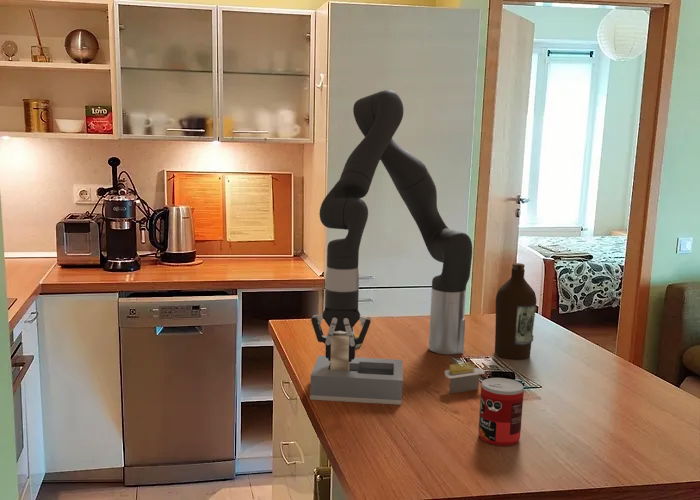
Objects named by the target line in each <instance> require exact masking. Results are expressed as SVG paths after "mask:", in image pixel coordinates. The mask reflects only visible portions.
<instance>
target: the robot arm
mask: <svg viewBox="0 0 700 500" xmlns="http://www.w3.org/2000/svg"><path fill="white" fill-rule="evenodd" d="M352 110H353V111H352V113H353V117H354V120H355V123H356V125H357V127H358V129H359V130H360V132H361V133H362V135H363V136H364V138H362V140H361V141H360V142H359V143H358V145H357V146H355V148H354V149H353V150H352V152H351V153H350V155H348V157H347V160H346V162H345V164H344V167H343V169H342V172H341V175H340V177H339V179H338V181H337V182H336V183H335V184H334V186H333V187H332V188H331V190H330V191H329V192H328V193H327V195H326V196H325V197H324V198H323V200H322V202H321V204H320V208H319V213H318V214H319V219H320V222H321V224H322V225H323V227H325V228H328V229H332V230H333V229H335V230H346V231H347V235H346V236H345V238H337V239H332V240H331V241H329V242H328V244H327V249H326V254H327V255H326V272H325V276H324V277H325V281H324V310H323V311H322V313H321V314H313V315H312V317H311V318H310V321H311V325H312V328H313V331H314V333H315V336H316V340H317V342H318V343H323V344H324V345H325V355H324V356H326V358H328V361H331V335H333V334H334V331H343V332H346V333H347V336H349V344H350V345H349V362H352V359H353V360H354V358H355V357H356V349H355V346H356V345H357V344H362V345H363V343H364V341H365V338H366V336H367V333H368V331H369V327H370V325H371V322H372V319H371V318H372V317H370V316H367V317H365V316H363V315H361V313H360V311H359V295H360V294H359V290H360V274H359V253H360V246H361V241H362V238H363V234H364V230H365V228H366V225H367V221H368V218H369V209H368V206H367V203H366V202H365V200H363V198H364V197H366V196H367V194H368V193H369V190H370V187H371V185H372V182H373V179H374V176H375V173H376V170H377V167H378V165H379V163H380V161H381V163H382V165H383V167H384V168H385V169H386V171H387V173H388V176H389V177H390V179H391V181H392V183H393V184H394V187H395V188H396V190H397V192H398V194H399V196H400V198H401V199H402V201H403V202H404V204H405V206H406V208H407V210H408V211H409V213H410V215H411V217H412V219H413V220H414V222H415V224H416V226H417V228H418V230H419V232H420V235H421V237H422V239H423V243H424V244H425V246H426V249H427V251H428V253H429V255H430V256H431V257H432V259H434V260H436V262H439V263H442V269H441V274H439V275H435V276H433V277H432V281H431V293H430V295H431V296H430V297H431V298H430V314H429V315H430V317H429V336H428V338H429V339H428V350H430V352H433V353H436V354H440V355H457V354H464V349H465V347H464V346H465V332H466V331H465V330H466V318H465V313H466V296H467V295H466V294H467V284H468V282H469V280H470V276H471V268H472V260H473V243H472V239H471V237H470V236H469V235H468V234H467V233H465V232H463V231H459V230H454V229H450V228H449V227H448V225H446V222H444V220H443V218H442V216H441V214H440V212H439V210H438V196H437V195H438V194H437V186H436V184H435V182H434V179H433V177H432V176H431V174H430V172H429V169H428V168H427V167H426V165H425V163H423V161H422V160H420V159H419V158H418V157H416V156H415V155H414V154H412V153H410V152H409V151H408V150H406V149H405V148H403V147H402V146H400V145H399V144H398V143H397V142H396V141H395V140H394V139H393V137H394V135H395V134H396V132H397V130H398V128H399V127H400V125H401V123H402V121H403V117H404V104H403V101H402V98H401V97H400V95H399V94H398V93H397V92H396V91H394V90H391V89H386V90H380V91H377V92H374V93H373V94H369V95H367V96H364V97H361V98H359V99H357V100H356V101H355V102H354V104H353V108H352ZM323 320H324V322H325V323H326V325H327V326H328V327H329V329H328V332H327V335H324V333H323V329H322V325H321V324H322V322H323ZM358 321H359V322H360V323H359V325H360V326H361V327H362V328H361V329H360V333H359V337H357V338H355V336H354V334H355V330H354V327H355V325H356V324H357V323H358Z"/></svg>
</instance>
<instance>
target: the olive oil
mask: <svg viewBox="0 0 700 500" xmlns="http://www.w3.org/2000/svg"><path fill="white" fill-rule="evenodd" d="M511 265H512V267H511V276H510V278H509V279H508V280H507V281H505V283H503V284H502V285H501V287H499V288H498V290H497V292H496V296H495V328H494V329H495V330H494V334H495V337H494V354H495V355H496V356H498V357H501V358H503V359H509V360H526V359H529V358H530V357H531V348H532V343H533V341H534V334H533V332H534V325H535V317H536V310H537V296H536V295H537V294H536V293H535V290H534V289H533V288H532V287H531V285H530V284H529V283H528V282H527V281H526V279H525V264H524V263H520V262H519V263H518V262H516V263H515V262H514V263H512V264H511Z"/></svg>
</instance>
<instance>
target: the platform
mask: <svg viewBox="0 0 700 500" xmlns="http://www.w3.org/2000/svg"><path fill="white" fill-rule="evenodd" d="M485 372H486V370H485V369H482V368H478V367H475V363H474V364H471V362H462V363H455V364H449V369H445V370H444V375H445V377H446V378H448V379H449V391H448V392H449V394H456V393H463V392H469V391H476V390H477V391H478V390H479V384H480V375H484V374H486V373H485Z"/></svg>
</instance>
